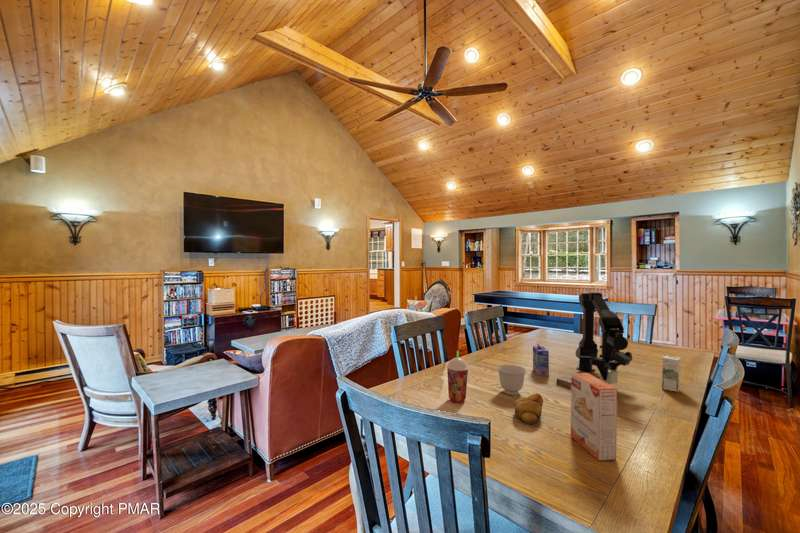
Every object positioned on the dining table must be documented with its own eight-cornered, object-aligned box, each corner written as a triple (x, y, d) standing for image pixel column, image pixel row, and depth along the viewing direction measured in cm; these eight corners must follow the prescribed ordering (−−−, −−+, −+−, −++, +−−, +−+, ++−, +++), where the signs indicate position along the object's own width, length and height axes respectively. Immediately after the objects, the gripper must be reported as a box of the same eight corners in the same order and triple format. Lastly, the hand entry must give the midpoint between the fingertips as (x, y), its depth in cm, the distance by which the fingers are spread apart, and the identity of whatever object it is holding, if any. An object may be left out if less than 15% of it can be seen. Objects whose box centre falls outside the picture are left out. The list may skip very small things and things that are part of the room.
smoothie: (469, 398, 145) (469, 349, 145) (466, 406, 137) (466, 354, 137) (448, 395, 148) (449, 347, 147) (444, 403, 140) (445, 352, 139)
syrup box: (679, 389, 156) (680, 356, 156) (678, 393, 152) (679, 359, 152) (663, 386, 160) (664, 354, 160) (661, 389, 156) (662, 356, 155)
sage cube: (605, 379, 161) (606, 368, 161) (617, 382, 156) (617, 371, 156) (599, 380, 158) (599, 369, 158) (611, 384, 154) (611, 373, 154)
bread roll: (539, 429, 120) (540, 405, 119) (510, 422, 124) (510, 399, 124) (543, 414, 131) (544, 392, 131) (516, 408, 136) (516, 387, 135)
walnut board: (569, 380, 168) (569, 374, 168) (590, 387, 159) (590, 380, 159) (556, 384, 162) (556, 378, 162) (577, 391, 154) (577, 384, 154)
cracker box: (569, 436, 114) (570, 372, 114) (587, 436, 115) (588, 372, 114) (596, 461, 100) (598, 388, 100) (617, 461, 101) (618, 388, 100)
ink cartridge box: (531, 369, 183) (532, 341, 183) (543, 369, 183) (543, 341, 182) (537, 375, 173) (537, 346, 173) (549, 376, 173) (549, 346, 173)
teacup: (528, 387, 157) (528, 365, 157) (524, 399, 144) (525, 375, 143) (500, 383, 162) (500, 361, 162) (494, 394, 149) (494, 371, 149)
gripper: (616, 351, 145) (615, 389, 146) (640, 345, 155) (639, 381, 155) (590, 345, 155) (589, 380, 155) (613, 340, 164) (612, 373, 165)
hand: (608, 379), depth 157 cm, fingers closed on sage cube, 5 cm apart
